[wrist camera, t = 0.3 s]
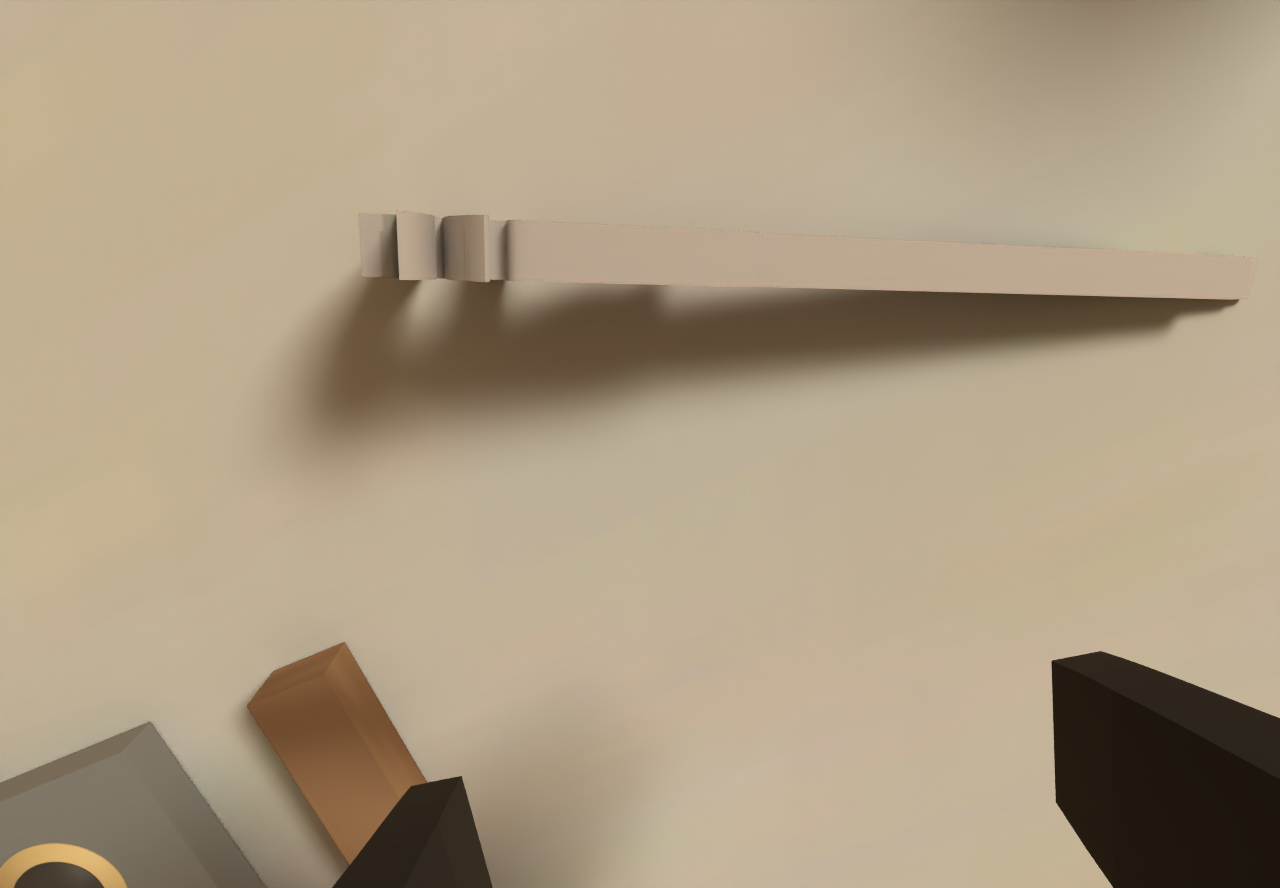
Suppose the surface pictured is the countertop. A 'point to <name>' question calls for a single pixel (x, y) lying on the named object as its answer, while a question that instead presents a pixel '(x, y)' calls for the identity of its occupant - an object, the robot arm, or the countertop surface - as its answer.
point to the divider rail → (336, 744)
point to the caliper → (774, 260)
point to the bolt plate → (115, 823)
